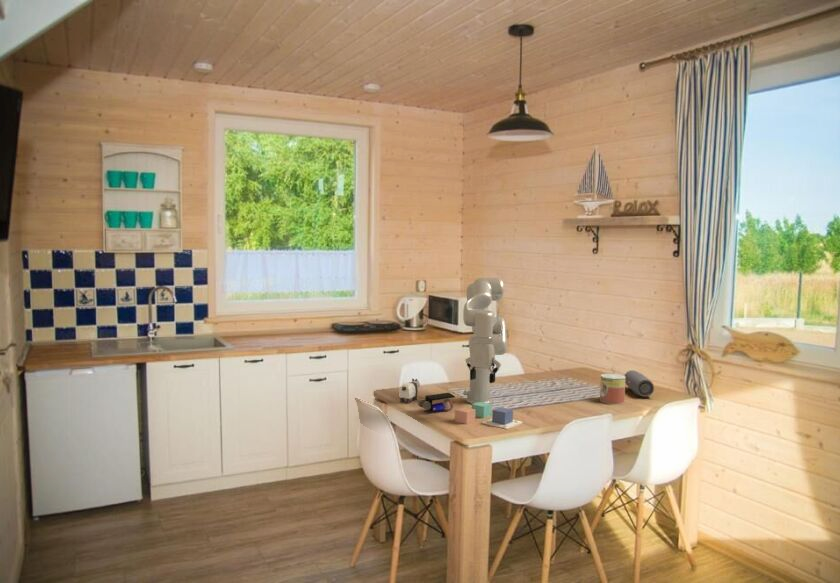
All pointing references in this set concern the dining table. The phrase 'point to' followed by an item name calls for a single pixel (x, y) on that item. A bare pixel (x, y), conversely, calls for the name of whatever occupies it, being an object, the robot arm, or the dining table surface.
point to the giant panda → (409, 391)
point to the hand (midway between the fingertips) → (482, 380)
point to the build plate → (502, 418)
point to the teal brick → (482, 409)
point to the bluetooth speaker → (639, 383)
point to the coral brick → (465, 415)
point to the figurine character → (431, 407)
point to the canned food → (612, 389)
